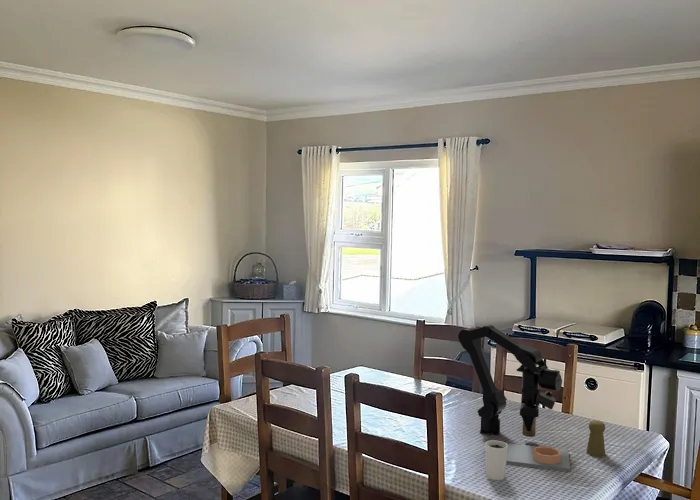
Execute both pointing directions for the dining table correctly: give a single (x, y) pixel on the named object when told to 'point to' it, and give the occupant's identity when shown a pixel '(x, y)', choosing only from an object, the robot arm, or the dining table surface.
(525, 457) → the slate board
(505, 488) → the dining table surface
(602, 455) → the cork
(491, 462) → the white cup
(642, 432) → the dining table surface
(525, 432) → the walnut cylinder
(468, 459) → the dining table surface
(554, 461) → the terracotta ring
